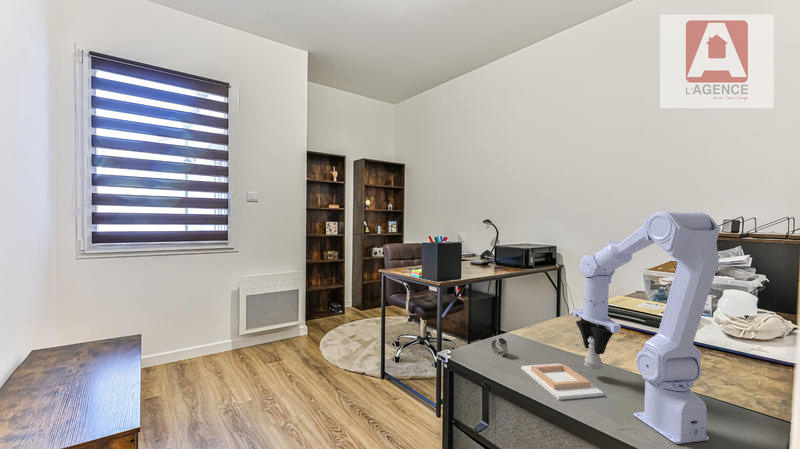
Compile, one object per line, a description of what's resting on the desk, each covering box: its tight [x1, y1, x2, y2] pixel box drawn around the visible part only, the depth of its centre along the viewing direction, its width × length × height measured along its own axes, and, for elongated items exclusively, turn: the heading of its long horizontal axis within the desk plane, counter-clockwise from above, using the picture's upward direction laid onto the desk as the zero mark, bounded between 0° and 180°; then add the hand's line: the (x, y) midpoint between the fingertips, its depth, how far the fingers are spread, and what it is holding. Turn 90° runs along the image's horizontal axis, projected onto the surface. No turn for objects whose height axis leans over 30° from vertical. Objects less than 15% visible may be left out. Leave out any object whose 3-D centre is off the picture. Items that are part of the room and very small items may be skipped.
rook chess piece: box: [583, 336, 604, 371], centre depth 89 cm, size 4×4×8 cm
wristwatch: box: [490, 337, 509, 357], centre depth 104 cm, size 4×6×5 cm, turn 22°
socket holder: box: [520, 363, 604, 401], centre depth 86 cm, size 16×12×2 cm
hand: (594, 350), depth 89 cm, fingers closed on rook chess piece, 3 cm apart
